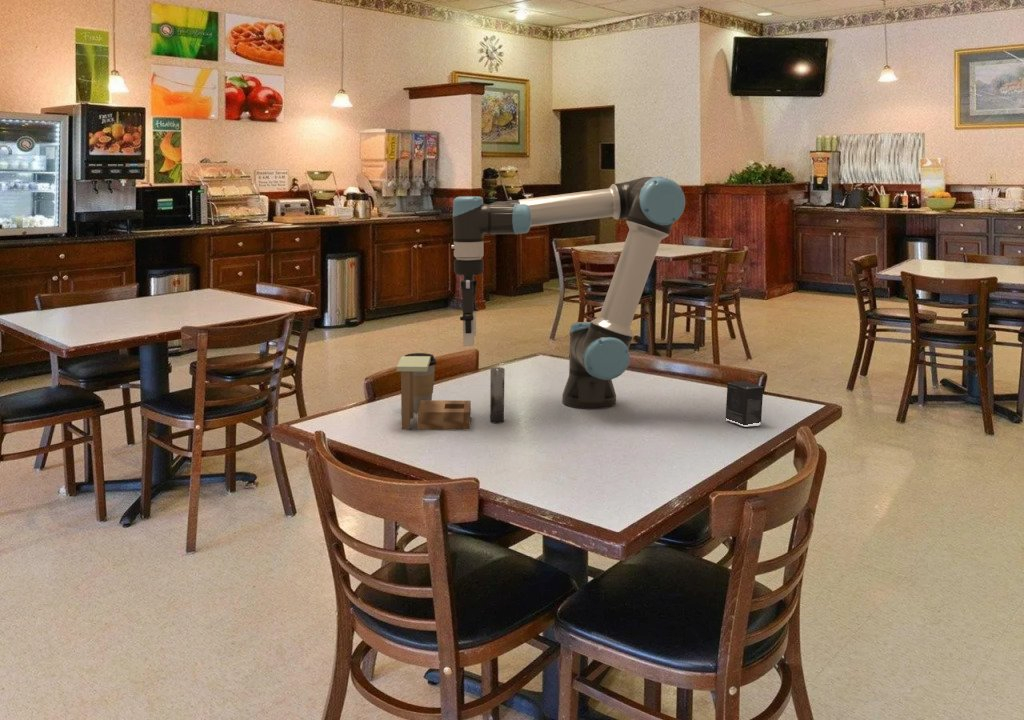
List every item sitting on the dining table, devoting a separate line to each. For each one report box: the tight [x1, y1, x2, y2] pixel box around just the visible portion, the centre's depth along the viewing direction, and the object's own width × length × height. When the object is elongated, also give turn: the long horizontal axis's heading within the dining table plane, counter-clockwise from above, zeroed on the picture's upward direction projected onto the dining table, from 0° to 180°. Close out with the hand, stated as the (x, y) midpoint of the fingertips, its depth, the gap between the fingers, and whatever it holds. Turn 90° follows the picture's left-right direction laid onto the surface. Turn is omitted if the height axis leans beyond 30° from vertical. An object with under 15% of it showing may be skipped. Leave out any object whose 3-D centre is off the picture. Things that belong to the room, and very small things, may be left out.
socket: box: [416, 399, 472, 431], centre depth 241 cm, size 13×12×4 cm
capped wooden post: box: [396, 355, 430, 430], centre depth 239 cm, size 8×13×16 cm, turn 1°
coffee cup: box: [404, 352, 437, 414], centre depth 252 cm, size 9×9×15 cm
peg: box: [489, 366, 506, 424], centre depth 242 cm, size 4×4×14 cm
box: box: [725, 380, 764, 425], centre depth 243 cm, size 8×6×11 cm
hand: (469, 340), depth 241 cm, fingers open, 13 cm apart
